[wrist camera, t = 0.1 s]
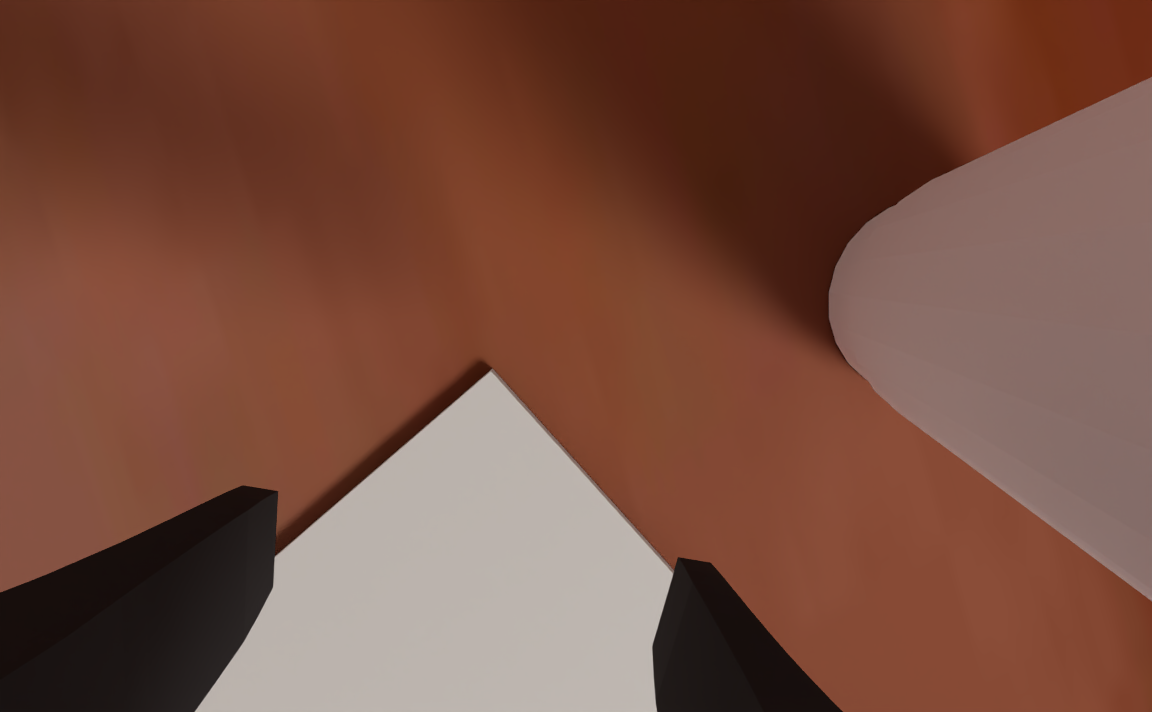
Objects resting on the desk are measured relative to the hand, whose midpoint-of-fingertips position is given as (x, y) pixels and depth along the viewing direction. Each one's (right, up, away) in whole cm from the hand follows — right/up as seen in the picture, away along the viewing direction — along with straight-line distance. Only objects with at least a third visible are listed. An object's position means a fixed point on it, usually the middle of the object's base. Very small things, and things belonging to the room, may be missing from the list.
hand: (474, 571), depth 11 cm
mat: (-3, -10, +12) cm, 16 cm away
